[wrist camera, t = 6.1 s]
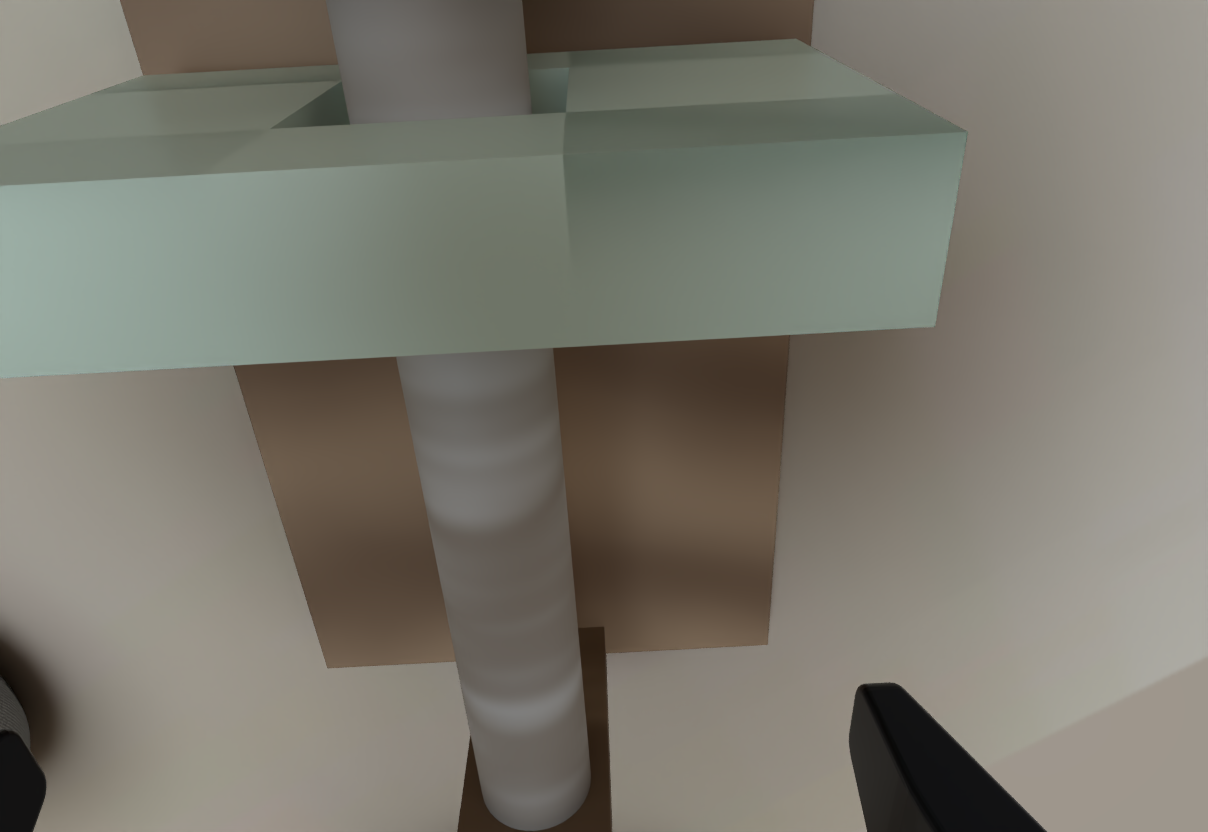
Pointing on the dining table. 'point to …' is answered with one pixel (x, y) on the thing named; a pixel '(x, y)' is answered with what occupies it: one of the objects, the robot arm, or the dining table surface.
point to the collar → (471, 214)
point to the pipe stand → (509, 425)
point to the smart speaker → (12, 712)
